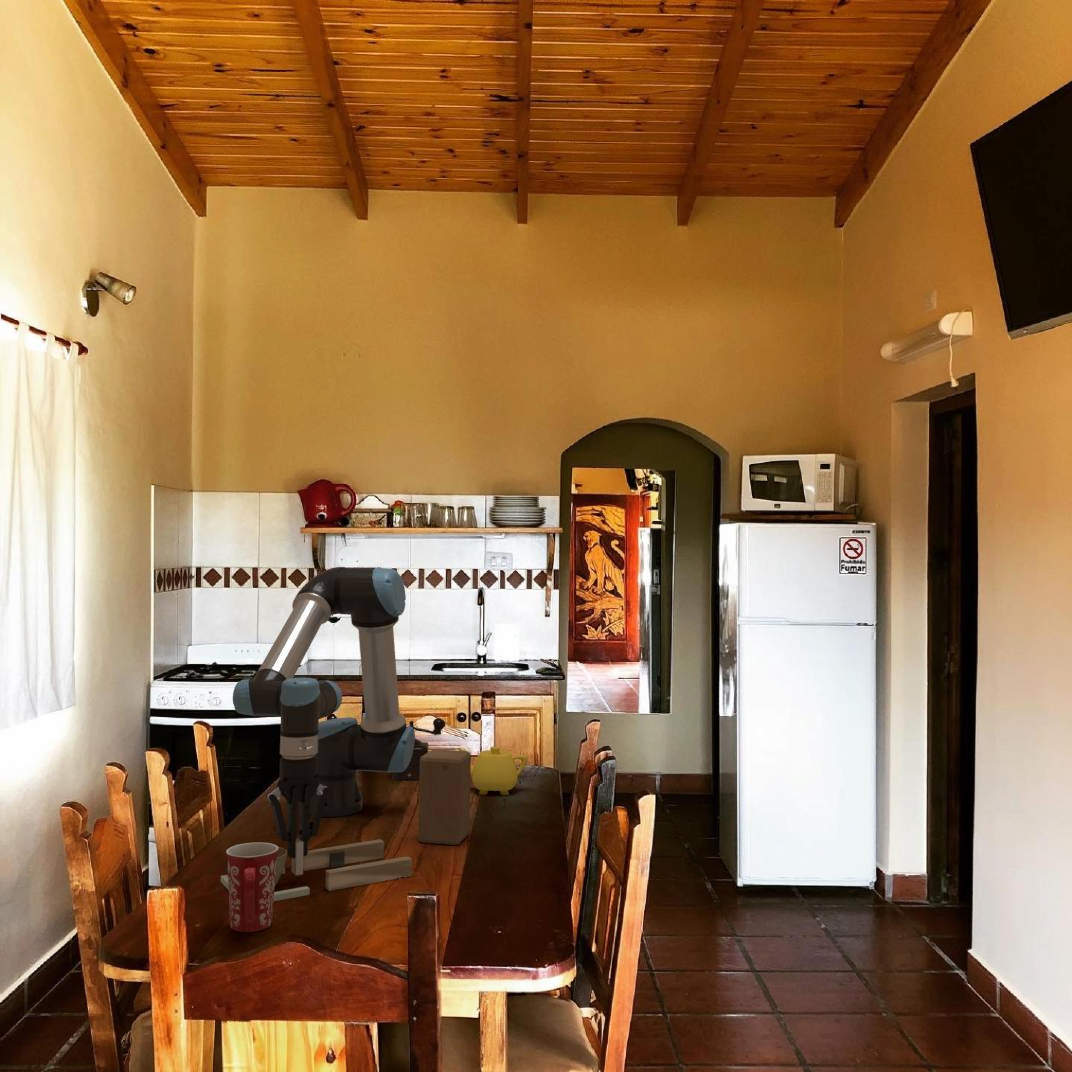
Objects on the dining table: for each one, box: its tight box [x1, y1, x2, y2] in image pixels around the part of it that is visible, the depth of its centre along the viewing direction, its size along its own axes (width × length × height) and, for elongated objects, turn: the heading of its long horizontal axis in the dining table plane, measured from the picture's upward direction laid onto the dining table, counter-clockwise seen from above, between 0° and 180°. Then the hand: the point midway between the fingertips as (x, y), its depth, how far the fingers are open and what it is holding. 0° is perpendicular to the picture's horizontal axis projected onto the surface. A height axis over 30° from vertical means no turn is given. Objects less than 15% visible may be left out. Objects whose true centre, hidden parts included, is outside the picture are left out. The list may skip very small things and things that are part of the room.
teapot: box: [457, 746, 529, 796], centre depth 276 cm, size 13×20×12 cm
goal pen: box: [220, 866, 311, 902], centre depth 194 cm, size 16×13×1 cm
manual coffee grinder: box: [391, 717, 446, 781], centre depth 292 cm, size 16×11×18 cm
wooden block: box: [417, 748, 472, 846], centre depth 229 cm, size 10×10×20 cm
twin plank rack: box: [303, 839, 413, 892], centre depth 204 cm, size 16×18×4 cm
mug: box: [225, 841, 279, 933], centre depth 173 cm, size 13×9×14 cm
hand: (297, 872), depth 197 cm, fingers closed
